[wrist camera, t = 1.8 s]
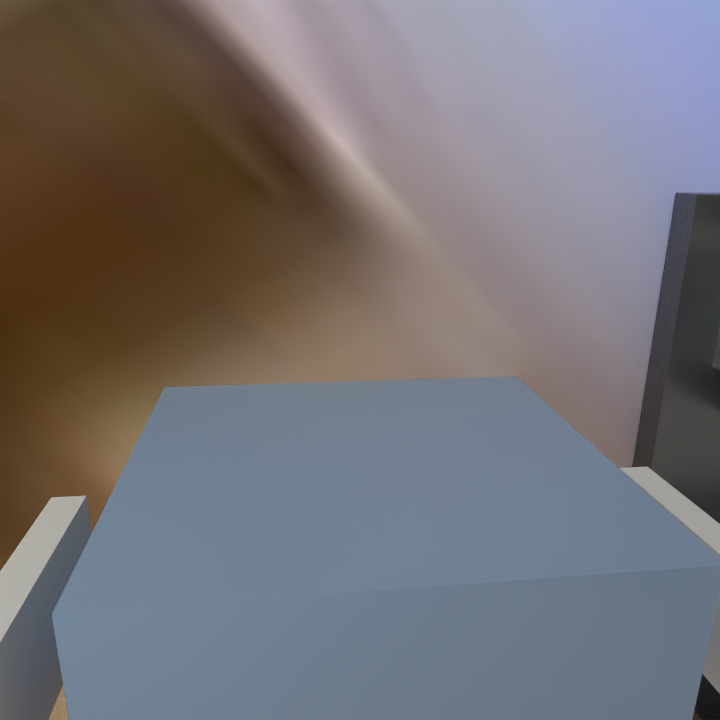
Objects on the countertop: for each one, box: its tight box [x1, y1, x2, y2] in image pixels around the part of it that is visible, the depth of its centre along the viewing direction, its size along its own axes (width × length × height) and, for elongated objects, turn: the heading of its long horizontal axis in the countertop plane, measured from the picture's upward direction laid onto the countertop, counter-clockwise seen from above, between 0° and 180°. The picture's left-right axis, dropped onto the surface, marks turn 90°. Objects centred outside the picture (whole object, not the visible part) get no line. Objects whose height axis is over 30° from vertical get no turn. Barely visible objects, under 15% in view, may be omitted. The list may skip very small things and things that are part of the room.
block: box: [52, 376, 720, 720], centre depth 15 cm, size 4×11×10 cm, turn 90°
